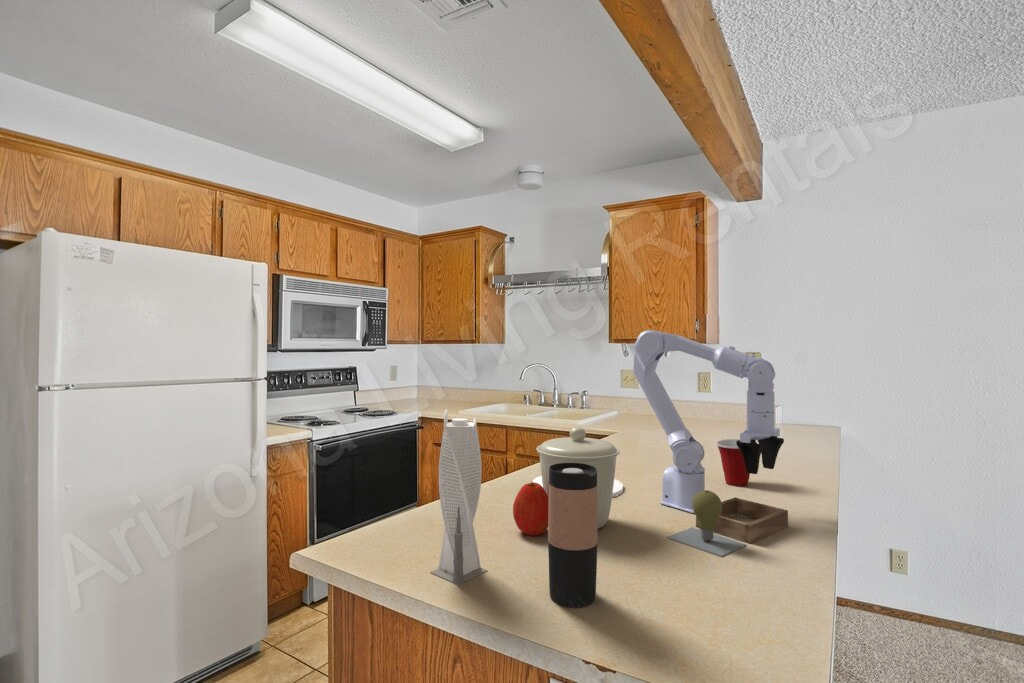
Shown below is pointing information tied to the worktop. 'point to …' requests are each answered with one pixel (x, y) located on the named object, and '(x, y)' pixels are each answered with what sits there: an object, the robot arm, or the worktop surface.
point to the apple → (531, 509)
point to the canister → (586, 453)
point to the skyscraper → (459, 500)
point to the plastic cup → (733, 463)
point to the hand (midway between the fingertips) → (760, 470)
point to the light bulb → (707, 512)
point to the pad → (714, 546)
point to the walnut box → (750, 532)
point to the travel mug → (572, 534)
